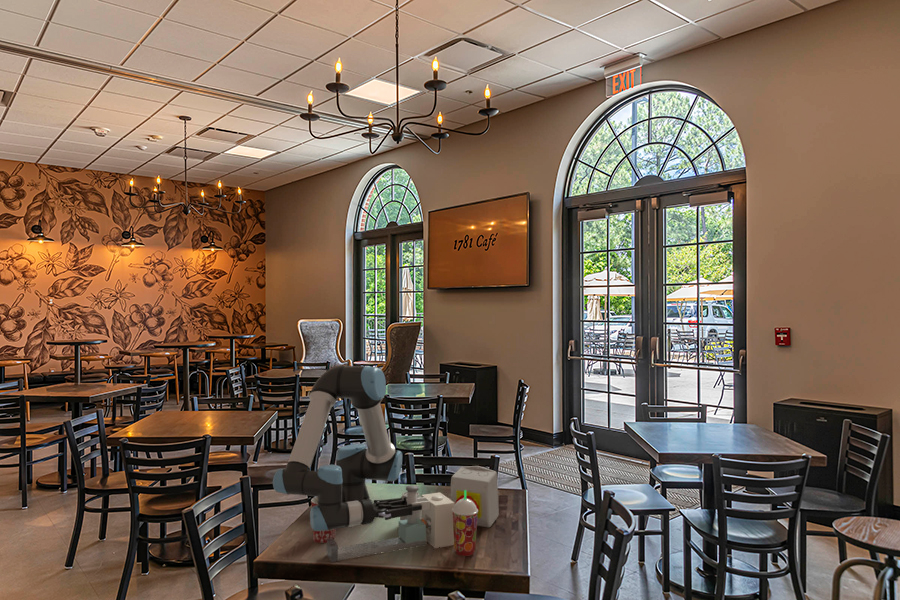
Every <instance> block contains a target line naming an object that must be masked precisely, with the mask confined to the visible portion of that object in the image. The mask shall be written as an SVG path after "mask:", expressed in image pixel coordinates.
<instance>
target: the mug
mask: <svg viewBox="0 0 900 600" xmlns="http://www.w3.org/2000/svg"><path fill="white" fill-rule="evenodd" d="M310 502H311V508H312V507H313V506H316V505H317V504H318V497H317V496H313V498H311V500H310ZM312 538H313V539H312V540H313V541H314V542H315V543H320V544H327V539H332V538H333V539H334V540H335V538H336V529H331V530H327V531H326V530H323V531H314V530H313V529H312Z"/></svg>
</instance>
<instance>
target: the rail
mask: <svg viewBox="0 0 900 600" xmlns="http://www.w3.org/2000/svg"><path fill="white" fill-rule="evenodd" d="M427 542H428V541H427V539H426V540H423V541H417V542H411V543H405V542H404V541H403V540H402V539H401V538H400V537H399V536H398V537H395V538H389V539H388V538H387V539H382V540H381V539H380V540H376V541H370V542H365V543H364V542H363V543H357V544H352V545H346V546H345V545H344V546H340V547H339V545H338V543H337V541H336V540H335V539H333V538H332V539H327V543H326V556H327V558H328V559H329V561H330V563H336V562H339V561H344V560H349V558H350V559H354V558H353V557H356V558H359V557H358V556H362V557H365V556H364V555H367V556H370V555H369V554H373V555H376V554H375V553H379V554H382V553H381V552H385V553H388V551H390V552H394V551H393V550H396V551H400V550H399V549H402V550H405V549H404V548H408V549H411V548H410V547H413V548H417V547H416V546H419V547H423V545H425V546H427Z"/></svg>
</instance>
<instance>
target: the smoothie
mask: <svg viewBox="0 0 900 600" xmlns="http://www.w3.org/2000/svg"><path fill="white" fill-rule="evenodd" d="M452 512H453V531H454V545H453V546H454V550H455V554H457V555H458V556H462V557H469V556H472V555H473V554H474V553H475V551H476V548H477V547H476V546H477V545H476V543H477V530H478V529H477V528H478V526H477V517H478V509H477V507H476V505H475V503H474V502H473V501H472V500H470V499H467V498H466V490H464V498H463V499H460V500H459V501H457V502H456V504H455V506H454V508H453V509H452Z"/></svg>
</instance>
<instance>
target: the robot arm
mask: <svg viewBox="0 0 900 600" xmlns="http://www.w3.org/2000/svg"><path fill="white" fill-rule="evenodd" d="M386 384H387V380H386V376H385V373H384V372H383V369H381V368H380V367H376V366H370V365H367V366H360V365H359V366H357V365H356V366H355V365H337V366H333V367H331V368H330V369H328V370H326V371H325V372H324V373H322V375H320V377H318V379H317V380H316V381H315V382H314V384H313V386H312V388H311V390H310V392H309V395H308V398H309V400H310V402H309V403H308V407H307V409H306V412H305V414H304V417H303V420H302V423H301V426H300V428H299V431H298V435H297V437H296V439H295V442H294V445H293V447H292V450H291V453H290V456H289V459H288V461H287V463H286V465H285V468H278V469H277V470H276V471H275V473H274V475H273V479H272V486H273V489H274V491H275V492H276V493H279V494H283V495H284V494H285V495H298V496H307V497H308V496H310V497H318V504H317V505H316V506H313V507H312V506H311V507H310V512H309V522H310V527H311V529H312V531H313V530H314V531H323V530H326V531H327V530H331V529H335V530H336V529H341V528H348V527H349V528H350V529H351V528H353V527H356V526H360V525H362V526H363V525H369V524H370V525H371V524H372V523H374V520H375V519H376V518H378V519H380V518H381V519H383V518H384V520H385V521H389V520H391V519H395V518H396V519H397V518H400V517H402V516H408V515H412V514H413V512H415V511H422V510H429V509H430V501H426V498H425V497H422V498H417V502H415V503H411V504H409V505H407V500H406V497H404V499H403V498H401V497H397V498H389V499H388V498H387V499H375V500H372V498H371V497H370V494H369V491H368V488H367V485H366V480H372V481H373V480H374V481H381V482H383V481H385V482H395V481H396V480H398V478H399V476H400V475H401V470H402V465H403V452H402V451H401V450H398V449H397V450H396V448H395V445H394V444H393V443H392V442H391V441H390V437H389V434H388V431H387V426H386V421H385V417H384V413H383V409H382V405H381V402H382V401H383V399H384V398H385V396H386V392H387V385H386ZM338 399H346V400H347V399H349V400H350V402H351V406H352V407H354V408H355V409H357V413H358V416H359V420H360V424H361V427H362V432H363V434H364V435H363V436H364V438H365V442H366V444H364V443H353V444H347V445H344V446H341V447H339V448H337V451H336V458H335V464H324V465H320V466H319V467H318V468H317V471H316V470H310V469H311V467H312V464H313V461H314V457H315V455H316V452H317V450H318V446H319V444H320V440H321V438H322V435H323V432H324V429H325V426H326V423H327V420H328V418H329V414H330V412H331V409H332V407H334V406H335V405H336V403H337V400H338ZM370 498H371V499H370Z"/></svg>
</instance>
